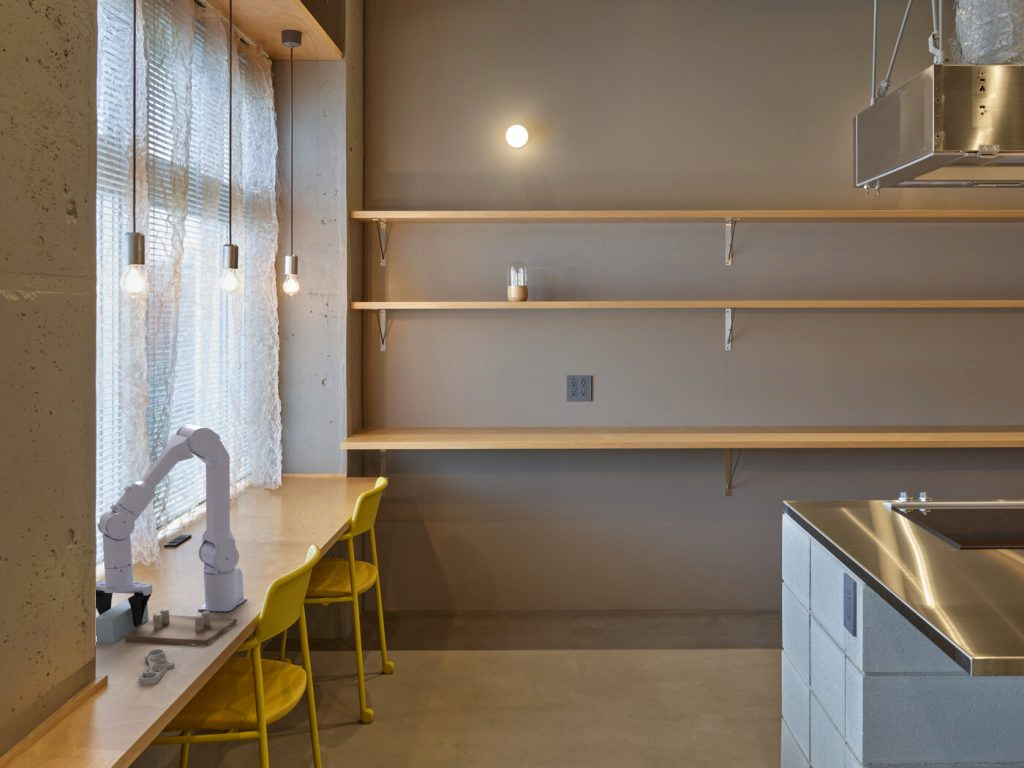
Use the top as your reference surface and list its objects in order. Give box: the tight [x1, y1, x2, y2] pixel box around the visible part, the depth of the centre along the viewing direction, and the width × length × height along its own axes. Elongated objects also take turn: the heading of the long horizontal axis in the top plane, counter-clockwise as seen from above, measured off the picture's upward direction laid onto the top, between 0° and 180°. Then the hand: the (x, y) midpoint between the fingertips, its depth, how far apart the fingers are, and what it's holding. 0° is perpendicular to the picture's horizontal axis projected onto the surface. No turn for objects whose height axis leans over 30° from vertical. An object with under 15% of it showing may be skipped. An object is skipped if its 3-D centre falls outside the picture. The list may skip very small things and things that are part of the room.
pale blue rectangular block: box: [95, 598, 149, 644], centre depth 202 cm, size 14×4×6 cm, turn 172°
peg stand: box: [125, 608, 238, 646], centre depth 201 cm, size 13×19×4 cm
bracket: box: [138, 648, 176, 686], centre depth 181 cm, size 8×2×15 cm
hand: (122, 624), depth 203 cm, fingers open, 7 cm apart
